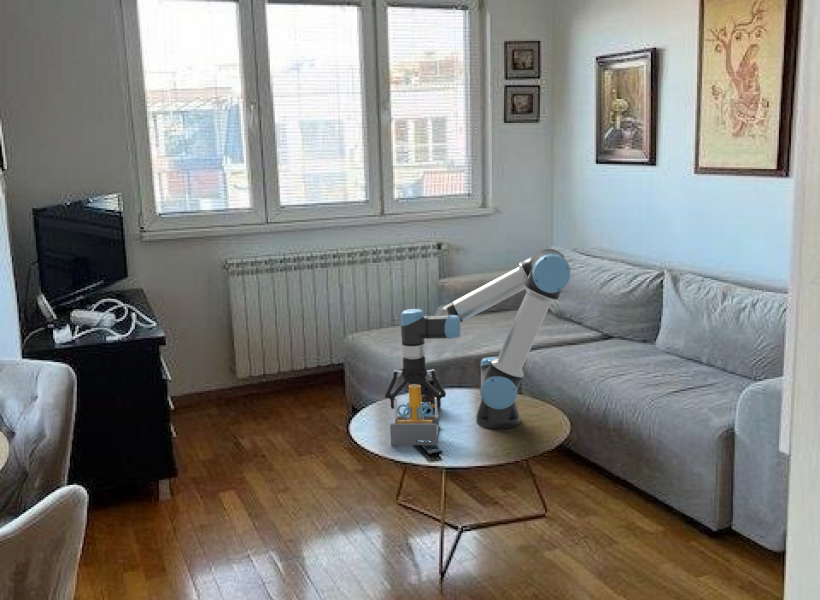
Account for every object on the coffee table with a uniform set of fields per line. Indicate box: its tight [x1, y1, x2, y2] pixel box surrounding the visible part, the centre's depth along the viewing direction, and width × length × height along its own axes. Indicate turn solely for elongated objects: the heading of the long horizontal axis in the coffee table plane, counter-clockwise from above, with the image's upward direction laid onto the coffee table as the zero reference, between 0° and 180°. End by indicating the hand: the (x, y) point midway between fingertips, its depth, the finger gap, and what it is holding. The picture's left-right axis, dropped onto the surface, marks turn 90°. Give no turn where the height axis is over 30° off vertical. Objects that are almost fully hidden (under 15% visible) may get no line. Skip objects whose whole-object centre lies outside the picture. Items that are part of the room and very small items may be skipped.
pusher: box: [397, 420, 432, 423], centre depth 280 cm, size 12×1×6 cm, turn 86°
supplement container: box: [412, 374, 440, 414], centre depth 309 cm, size 10×10×12 cm
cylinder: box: [397, 384, 433, 420], centre depth 284 cm, size 12×10×15 cm
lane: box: [389, 414, 440, 446], centre depth 283 cm, size 15×18×7 cm
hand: (416, 417), depth 283 cm, fingers open, 13 cm apart
